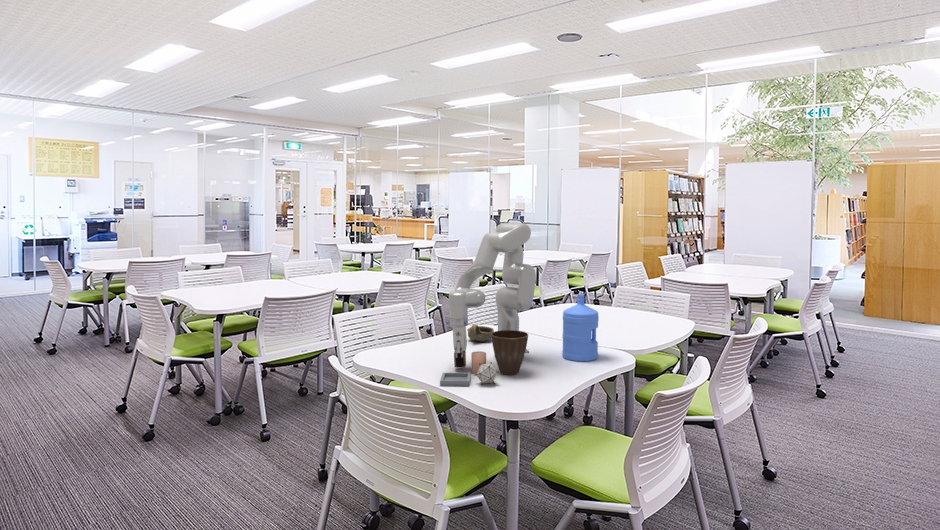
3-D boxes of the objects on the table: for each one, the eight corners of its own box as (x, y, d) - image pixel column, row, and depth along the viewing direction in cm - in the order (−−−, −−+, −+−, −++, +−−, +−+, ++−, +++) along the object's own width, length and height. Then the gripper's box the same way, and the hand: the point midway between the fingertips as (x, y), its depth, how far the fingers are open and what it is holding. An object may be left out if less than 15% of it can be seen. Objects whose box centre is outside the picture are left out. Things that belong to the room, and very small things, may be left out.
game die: (490, 394, 212) (496, 378, 206) (469, 385, 214) (475, 369, 207) (498, 377, 219) (503, 361, 213) (477, 368, 220) (483, 352, 214)
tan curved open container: (498, 339, 288) (498, 320, 287) (484, 346, 273) (484, 326, 272) (474, 336, 294) (474, 318, 293) (459, 343, 278) (459, 324, 277)
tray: (470, 377, 221) (470, 372, 221) (469, 386, 210) (469, 381, 210) (442, 377, 222) (442, 372, 222) (440, 386, 211) (440, 380, 211)
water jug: (569, 362, 242) (569, 298, 240) (557, 353, 258) (558, 293, 255) (603, 361, 245) (604, 297, 242) (590, 352, 260) (591, 292, 258)
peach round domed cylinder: (486, 370, 231) (486, 351, 231) (486, 374, 225) (486, 355, 225) (471, 370, 232) (471, 351, 231) (471, 374, 226) (471, 355, 225)
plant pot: (530, 368, 234) (530, 330, 232) (525, 379, 219) (525, 338, 218) (494, 366, 237) (494, 329, 235) (488, 376, 222) (488, 337, 221)
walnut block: (466, 364, 235) (465, 350, 234) (465, 367, 230) (464, 353, 229) (455, 364, 235) (454, 350, 234) (454, 367, 230) (454, 353, 230)
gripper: (466, 326, 222) (468, 371, 224) (468, 317, 238) (470, 358, 241) (447, 326, 222) (449, 371, 224) (451, 317, 239) (452, 359, 241)
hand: (460, 364), depth 232 cm, fingers closed on walnut block, 4 cm apart
